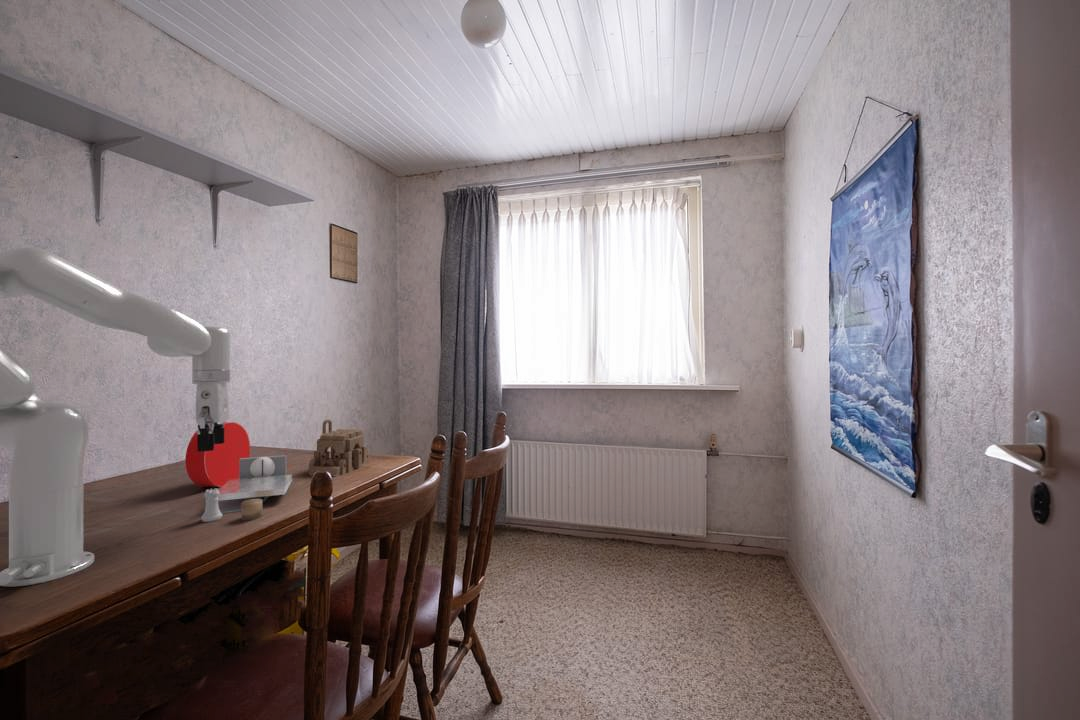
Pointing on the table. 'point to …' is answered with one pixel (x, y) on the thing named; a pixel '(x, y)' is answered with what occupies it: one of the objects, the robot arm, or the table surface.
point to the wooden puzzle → (339, 451)
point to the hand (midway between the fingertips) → (211, 447)
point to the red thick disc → (218, 458)
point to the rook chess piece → (211, 506)
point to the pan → (255, 487)
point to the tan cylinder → (251, 509)
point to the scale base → (254, 476)
